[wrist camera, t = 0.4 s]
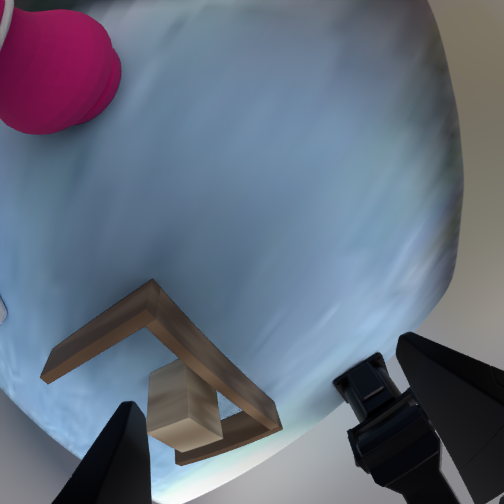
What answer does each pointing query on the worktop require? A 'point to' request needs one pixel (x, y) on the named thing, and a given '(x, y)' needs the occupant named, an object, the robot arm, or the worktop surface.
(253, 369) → the worktop surface
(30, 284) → the worktop surface
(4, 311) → the salt shaker
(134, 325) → the wooden u-shaped frame
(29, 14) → the pepper mill
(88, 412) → the worktop surface
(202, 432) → the maple block
